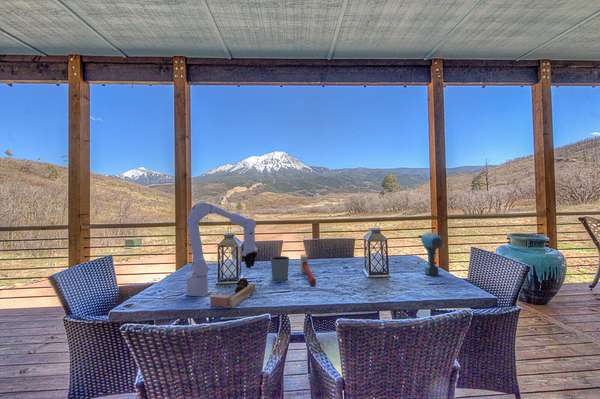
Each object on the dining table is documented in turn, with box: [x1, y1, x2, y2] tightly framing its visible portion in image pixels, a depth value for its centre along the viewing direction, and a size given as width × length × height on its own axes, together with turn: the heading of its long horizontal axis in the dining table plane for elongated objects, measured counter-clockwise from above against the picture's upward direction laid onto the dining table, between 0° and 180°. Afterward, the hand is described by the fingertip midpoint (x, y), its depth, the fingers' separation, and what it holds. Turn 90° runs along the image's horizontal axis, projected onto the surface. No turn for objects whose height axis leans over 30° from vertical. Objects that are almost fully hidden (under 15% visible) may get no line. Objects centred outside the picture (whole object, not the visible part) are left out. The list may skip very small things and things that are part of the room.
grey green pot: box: [270, 255, 290, 283], centre depth 169 cm, size 10×10×12 cm
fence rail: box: [228, 283, 256, 309], centre depth 139 cm, size 2×23×4 cm, turn 164°
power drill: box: [418, 232, 443, 277], centre depth 175 cm, size 28×9×23 cm, turn 179°
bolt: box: [234, 277, 250, 295], centre depth 147 cm, size 6×5×15 cm
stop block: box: [210, 293, 232, 308], centre depth 130 cm, size 8×3×4 cm, turn 74°
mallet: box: [300, 253, 317, 286], centre depth 170 cm, size 11×4×30 cm
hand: (250, 267), depth 159 cm, fingers open, 3 cm apart
